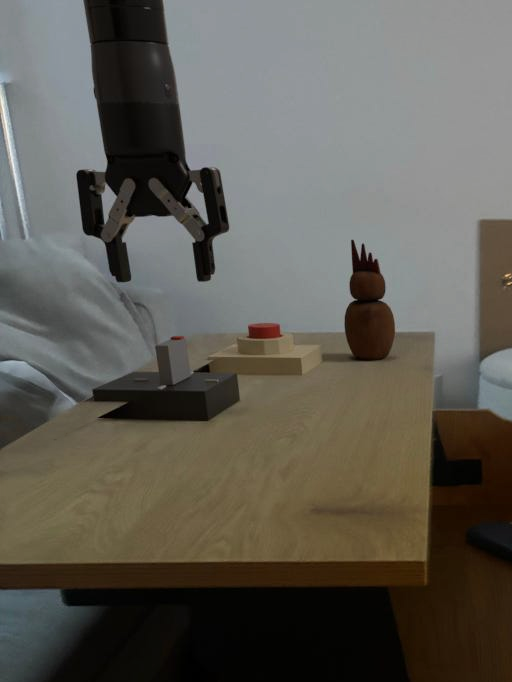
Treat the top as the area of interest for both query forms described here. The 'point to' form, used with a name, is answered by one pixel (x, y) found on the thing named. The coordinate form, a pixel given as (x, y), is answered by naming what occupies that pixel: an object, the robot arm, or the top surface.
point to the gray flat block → (173, 360)
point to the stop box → (266, 357)
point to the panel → (169, 396)
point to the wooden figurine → (368, 310)
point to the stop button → (264, 330)
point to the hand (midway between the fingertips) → (163, 281)
